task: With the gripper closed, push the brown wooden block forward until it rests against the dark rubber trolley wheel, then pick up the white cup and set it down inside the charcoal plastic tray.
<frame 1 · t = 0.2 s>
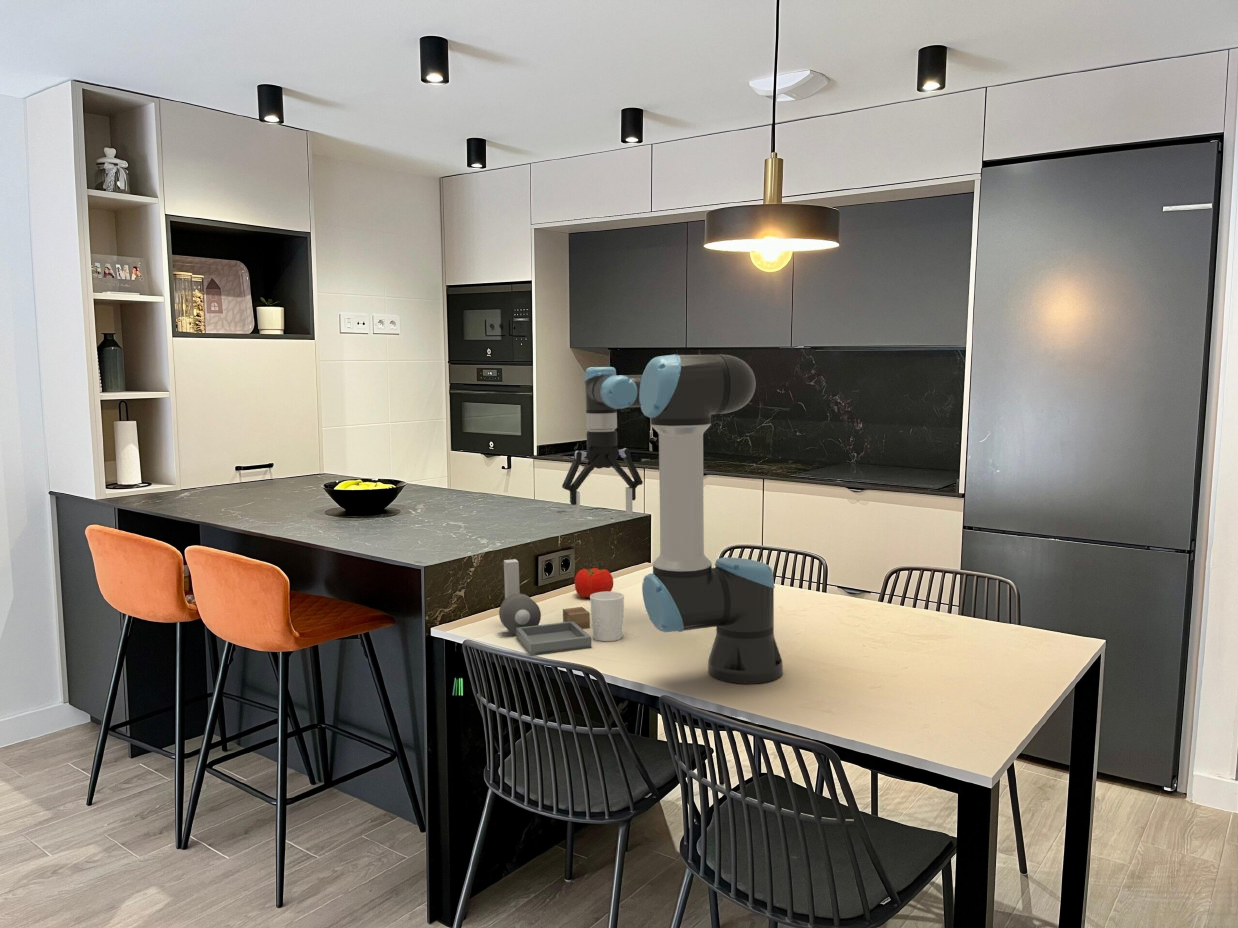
hand: (603, 515, 224), 26 cm above the table, fingers open, 13 cm apart
white cup: (608, 638, 212), on the table
tray: (553, 642, 208), on the table
tomato: (593, 596, 250), on the table
trolley wheel: (520, 632, 217), on the table
brown wooden block: (576, 626, 222), on the table
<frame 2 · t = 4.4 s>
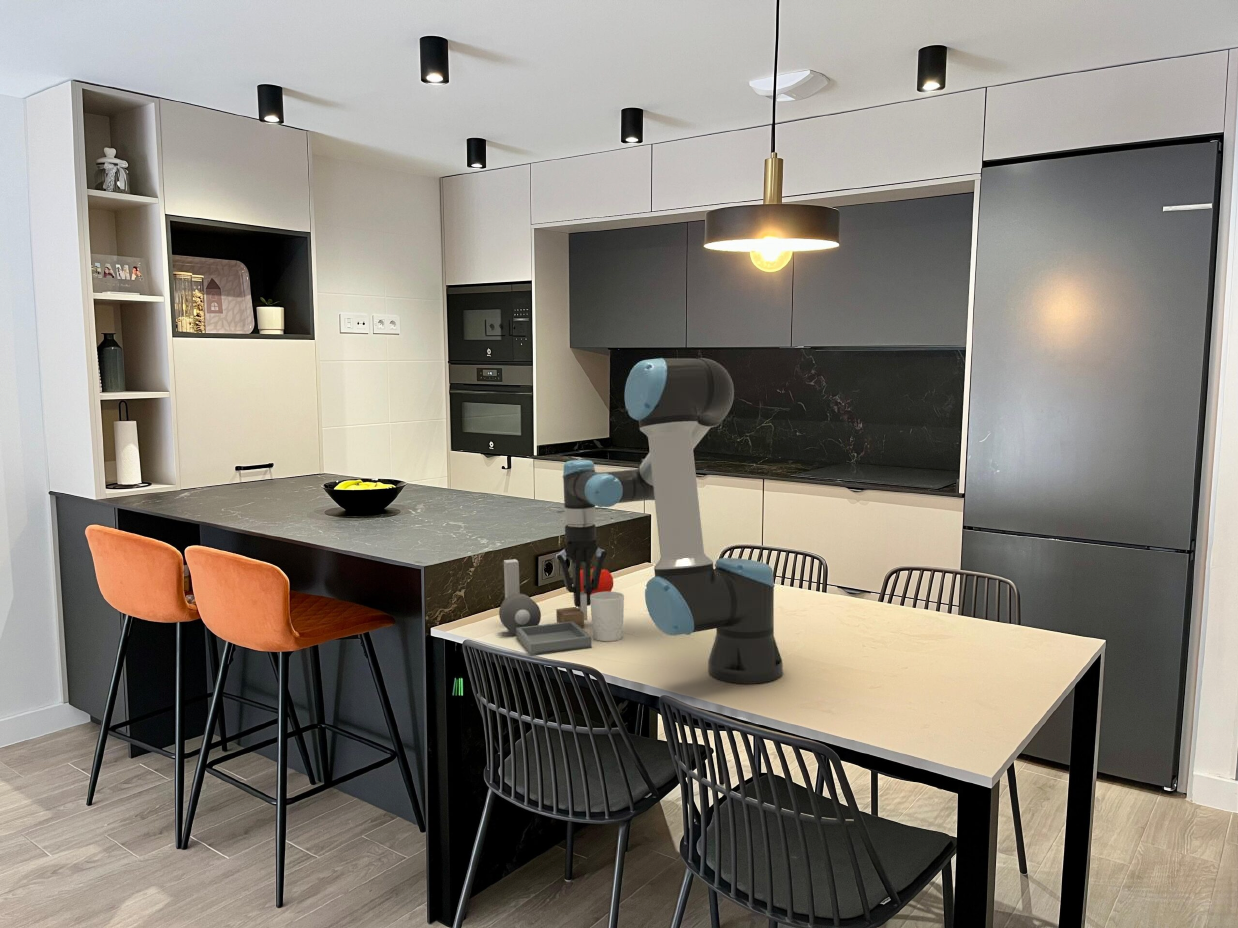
hand: (582, 618, 222), 2 cm above the table, fingers closed
brown wooden block: (570, 626, 221), on the table
everything else where it was.
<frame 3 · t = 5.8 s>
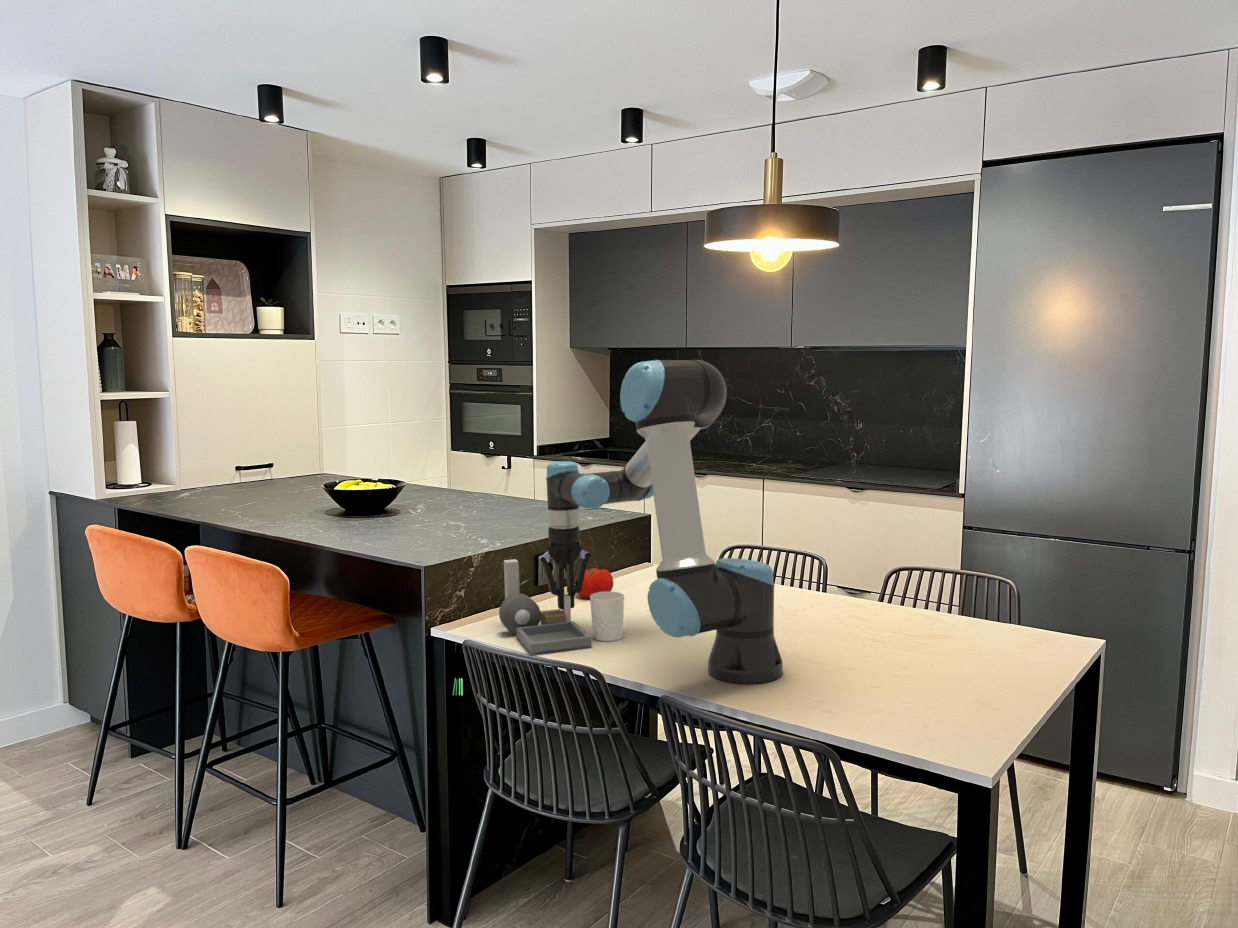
hand: (566, 621, 221), 1 cm above the table, fingers closed
brown wooden block: (553, 629, 220), on the table
everything else where it was.
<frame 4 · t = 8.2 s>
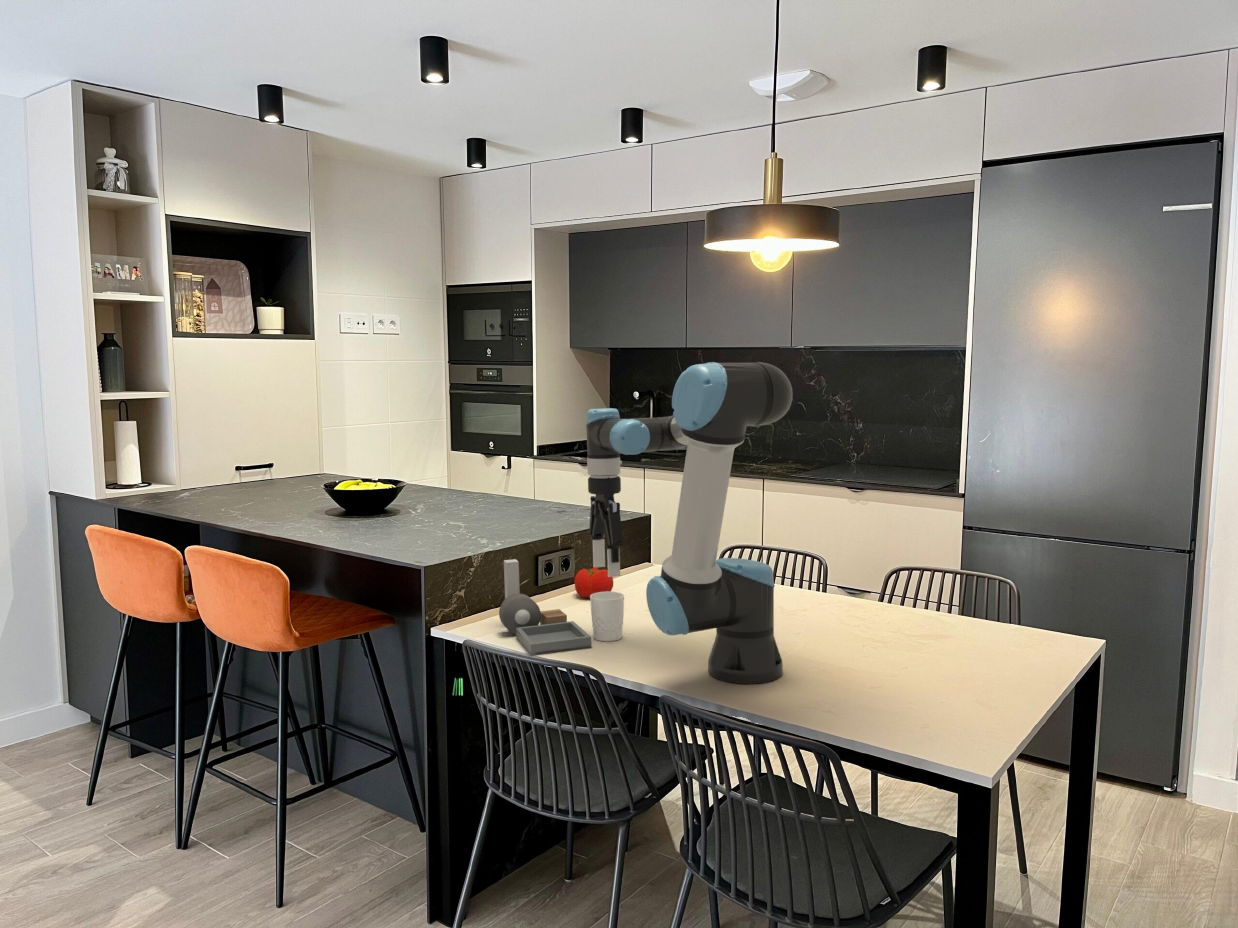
hand: (606, 571, 210), 16 cm above the table, fingers open, 10 cm apart
nothing on the table moved.
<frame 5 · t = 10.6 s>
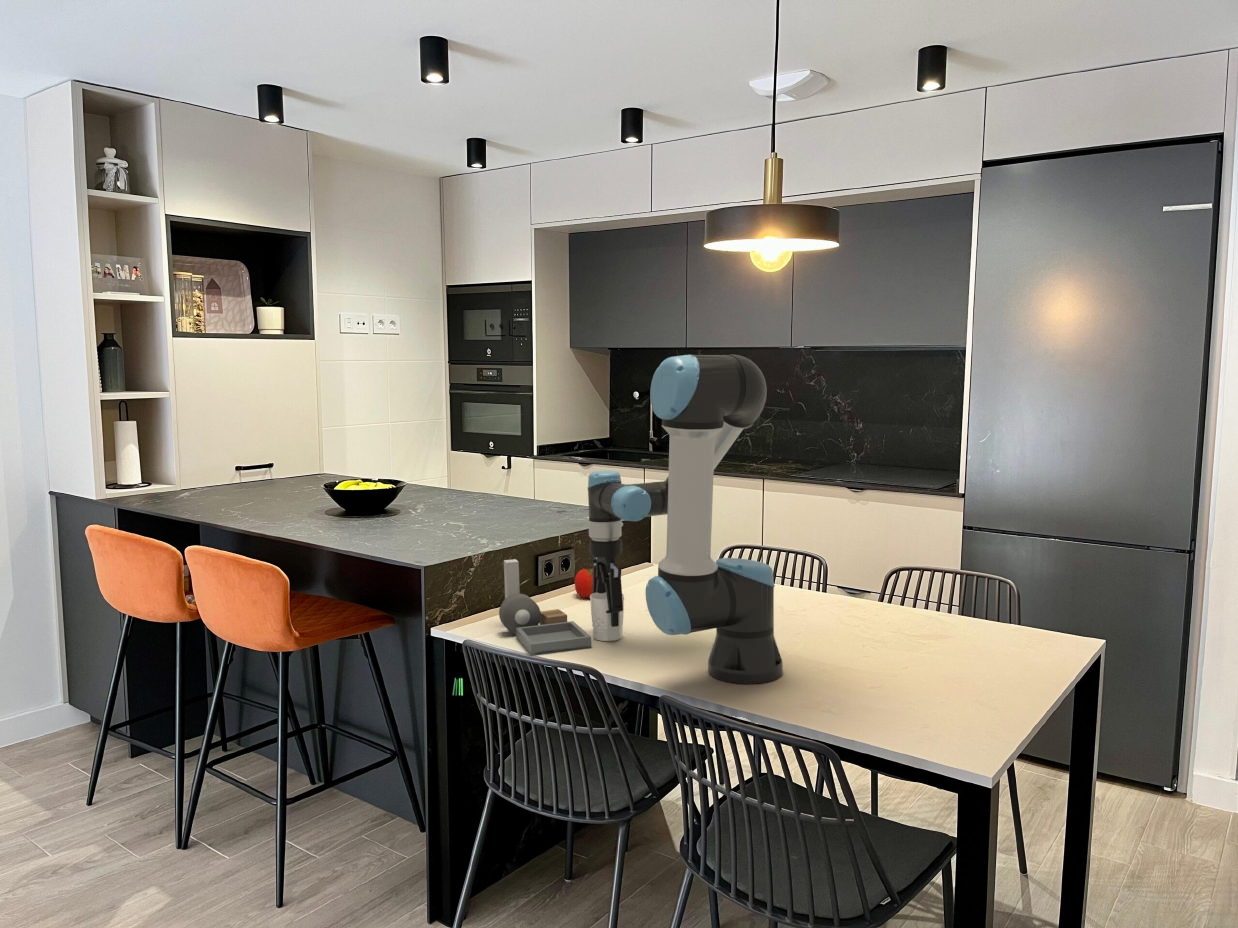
hand: (607, 634, 212), 1 cm above the table, fingers closed on white cup, 8 cm apart
white cup: (608, 638, 212), on the table, touching gripper
everything else where it was.
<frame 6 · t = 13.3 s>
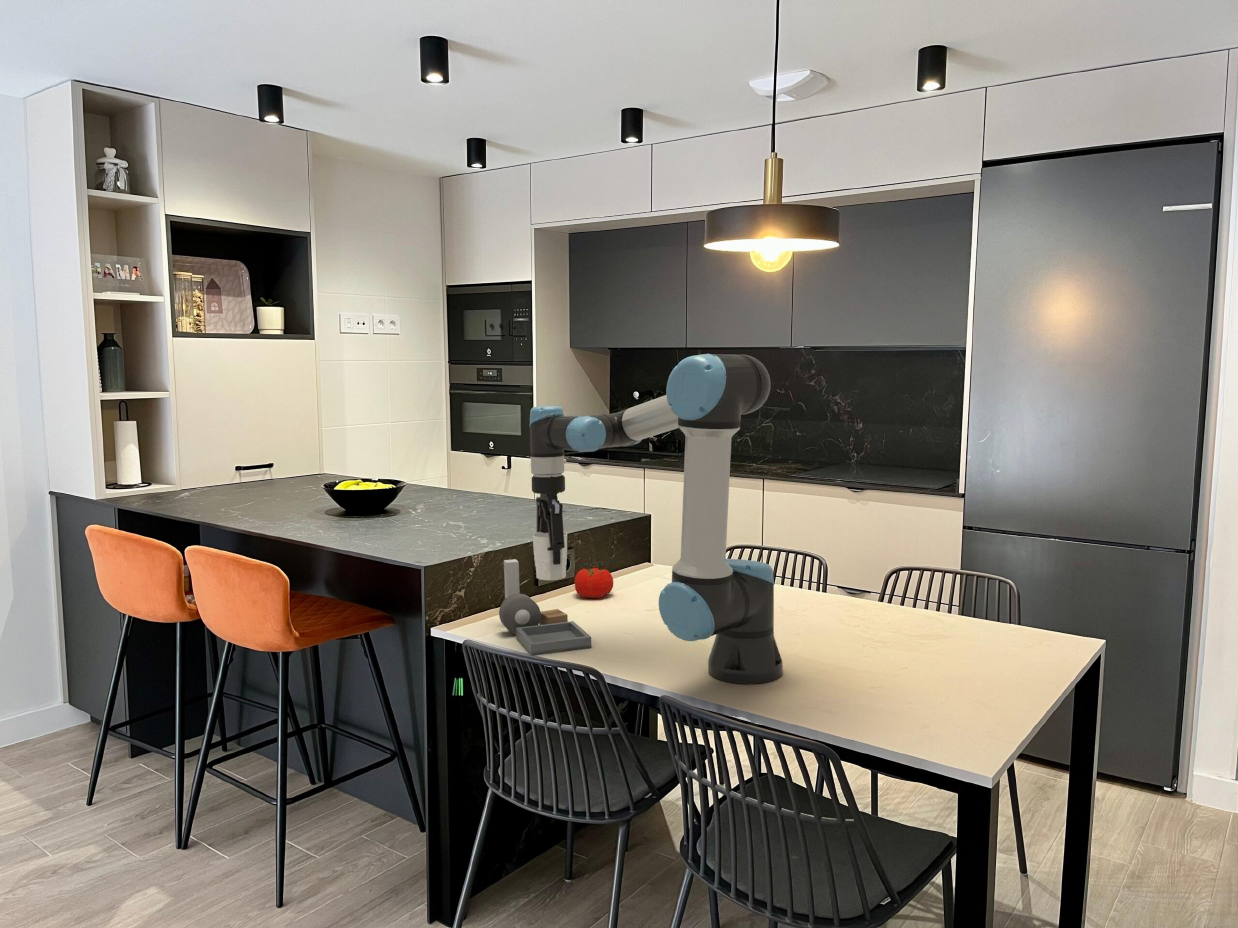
hand: (551, 574, 207), 16 cm above the table, fingers closed on white cup, 7 cm apart
white cup: (551, 578, 207), point 15 cm above the table, touching gripper
everything else where it was.
when the fingers open (3 cm above the table, at t = 16.0 s): white cup drops 1 cm, resting on tray.
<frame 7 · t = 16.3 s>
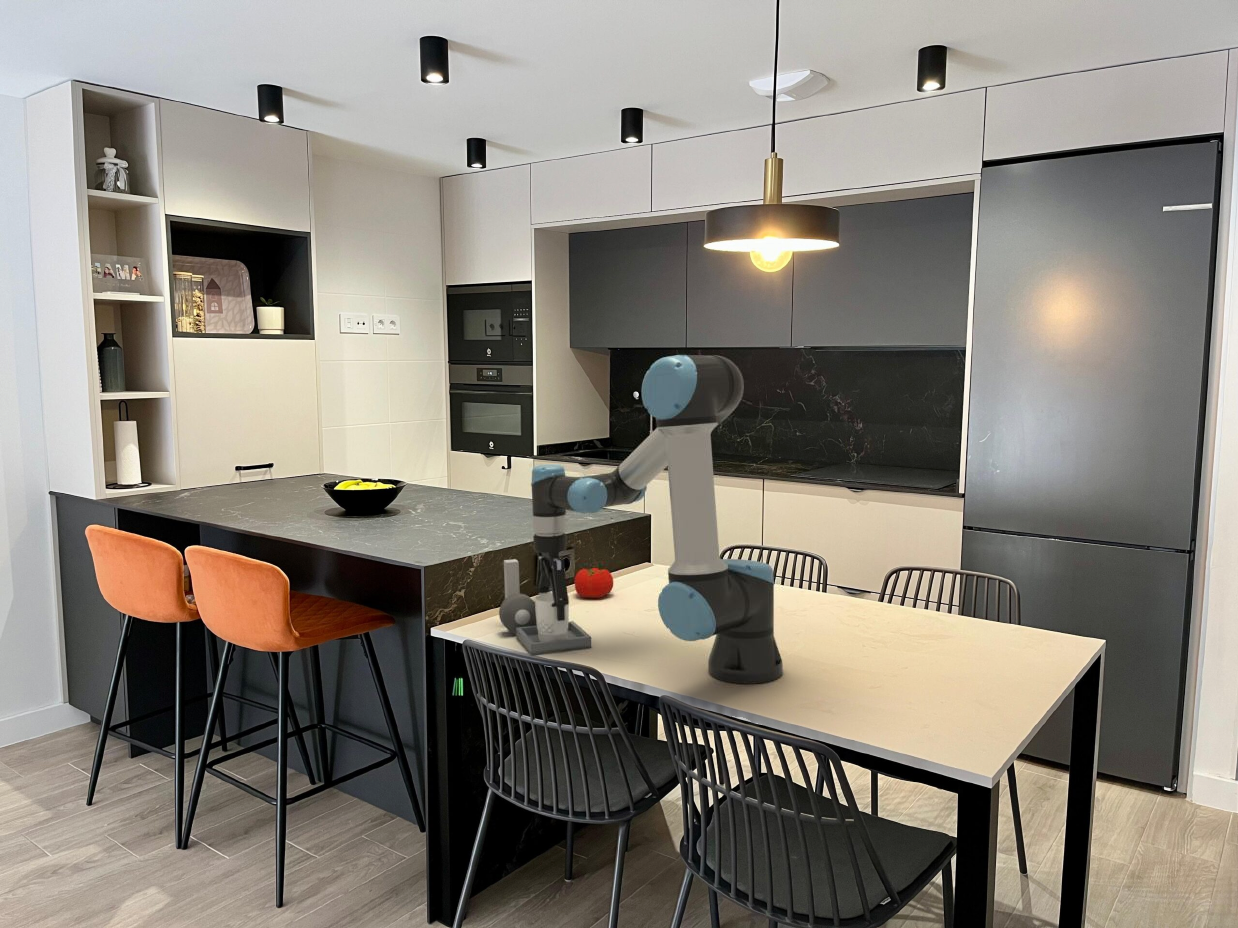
hand: (552, 626, 208), 4 cm above the table, fingers open, 11 cm apart
white cup: (553, 640, 209), resting on tray
everything else where it was.
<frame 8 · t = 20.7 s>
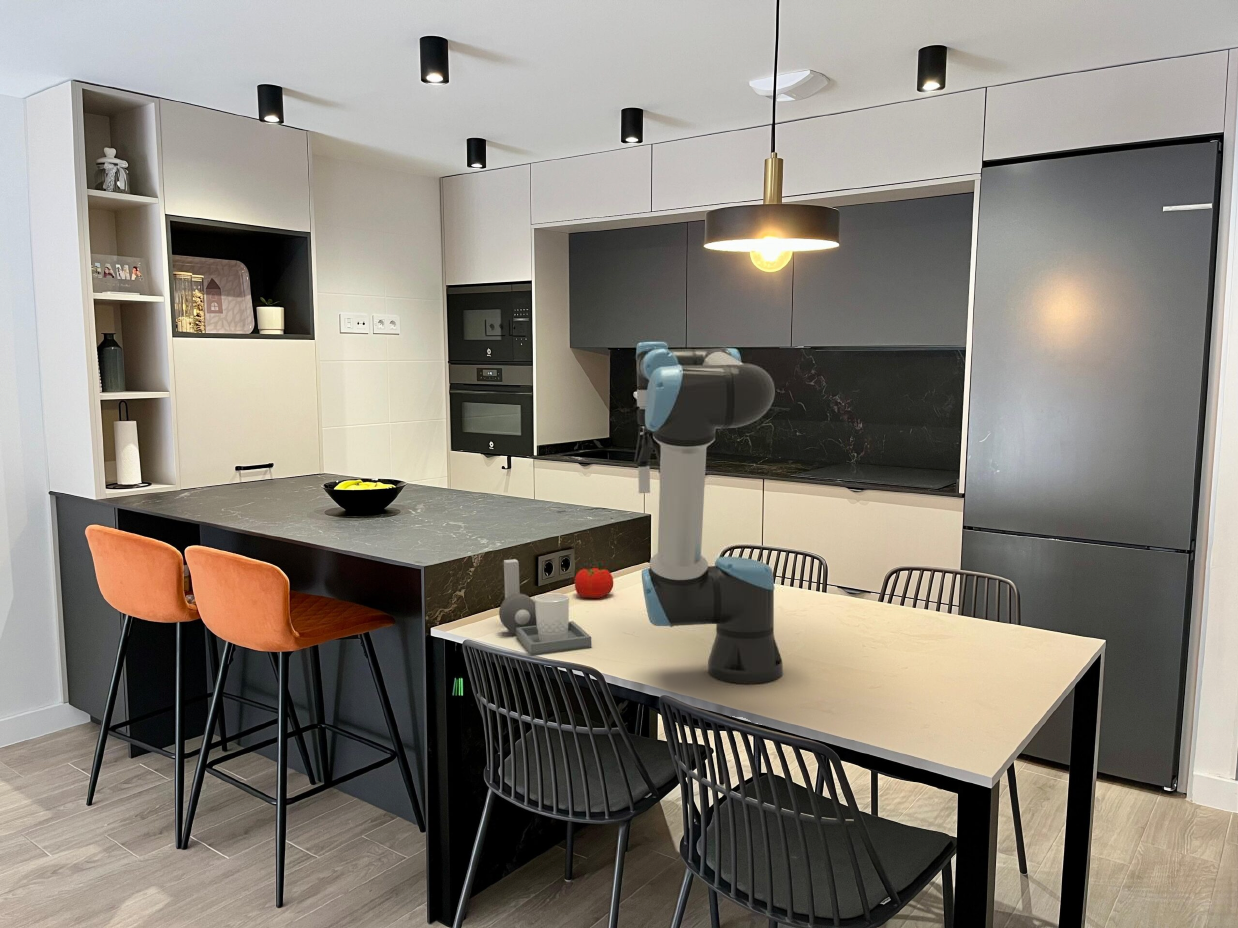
hand: (654, 496, 217), 32 cm above the table, fingers open, 13 cm apart
nothing on the table moved.
at the end: brown wooden block 1.2 cm from the target spot, on the table; white cup inside the target area on the tray (0.4 cm from its centre), point 0.4 cm above the tray's base; white cup tilted 0° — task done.
